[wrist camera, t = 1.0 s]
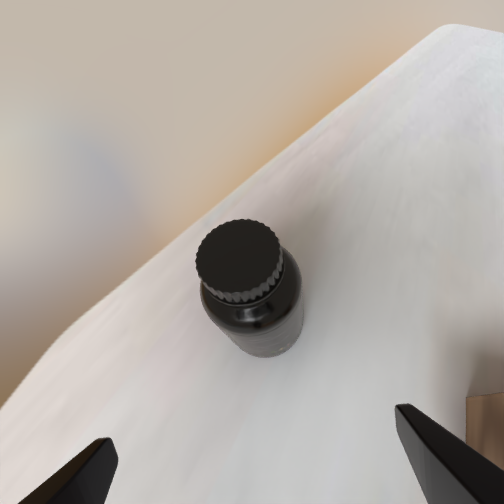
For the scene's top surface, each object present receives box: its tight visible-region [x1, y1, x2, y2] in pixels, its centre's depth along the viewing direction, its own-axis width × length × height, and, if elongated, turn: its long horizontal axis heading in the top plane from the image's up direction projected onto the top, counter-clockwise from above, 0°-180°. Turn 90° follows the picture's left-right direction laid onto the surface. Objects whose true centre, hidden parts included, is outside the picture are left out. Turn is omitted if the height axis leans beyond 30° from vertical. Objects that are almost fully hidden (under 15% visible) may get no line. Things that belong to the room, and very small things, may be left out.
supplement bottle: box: [195, 219, 303, 358], centre depth 19 cm, size 7×7×12 cm
